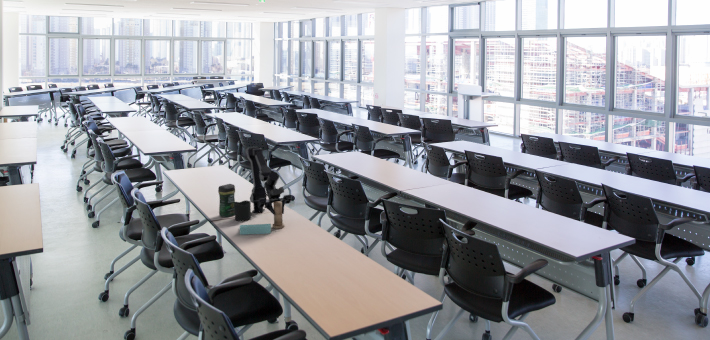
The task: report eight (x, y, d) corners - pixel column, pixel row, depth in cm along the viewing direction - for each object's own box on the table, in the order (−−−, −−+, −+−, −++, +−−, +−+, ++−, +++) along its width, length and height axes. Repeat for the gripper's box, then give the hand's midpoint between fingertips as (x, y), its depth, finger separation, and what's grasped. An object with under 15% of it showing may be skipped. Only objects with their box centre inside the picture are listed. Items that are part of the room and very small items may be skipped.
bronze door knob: (274, 224, 303) (273, 200, 300) (285, 225, 302) (284, 200, 299) (271, 228, 297) (270, 203, 294) (283, 228, 296) (282, 204, 293)
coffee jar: (226, 218, 315) (224, 187, 311) (217, 215, 320) (215, 185, 316) (238, 214, 323) (237, 184, 319) (230, 212, 327) (228, 182, 323)
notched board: (241, 227, 299) (241, 220, 298) (270, 226, 301) (270, 219, 300) (239, 234, 287) (239, 227, 286) (270, 233, 289) (270, 226, 288)
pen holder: (247, 222, 308) (246, 205, 306) (232, 221, 310) (231, 204, 308) (253, 217, 317) (253, 200, 315) (238, 216, 319) (237, 199, 317)
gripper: (258, 184, 293) (265, 209, 286) (290, 180, 302) (298, 204, 295) (254, 195, 302) (261, 219, 295) (285, 191, 310) (293, 214, 303)
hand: (278, 214), depth 297 cm, fingers closed on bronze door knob, 5 cm apart
